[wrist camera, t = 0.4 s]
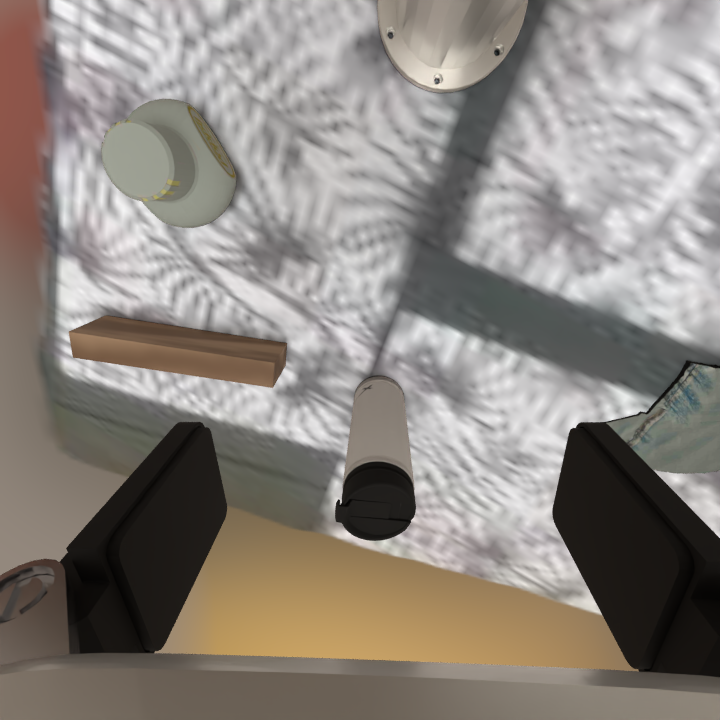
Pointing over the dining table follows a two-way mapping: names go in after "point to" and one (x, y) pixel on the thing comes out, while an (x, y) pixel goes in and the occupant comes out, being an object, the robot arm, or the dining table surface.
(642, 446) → the decorative slab
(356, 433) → the travel mug
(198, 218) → the air freshener
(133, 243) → the dining table surface
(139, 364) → the board
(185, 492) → the robot arm
